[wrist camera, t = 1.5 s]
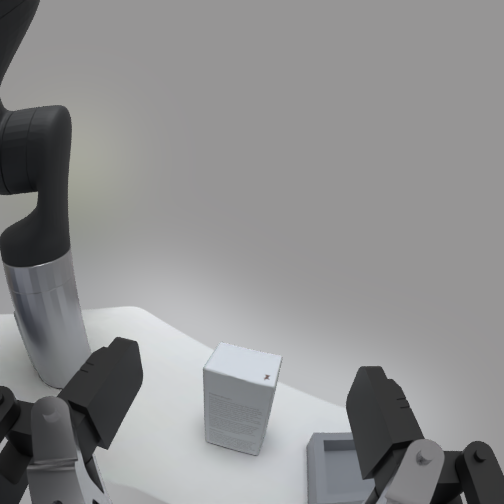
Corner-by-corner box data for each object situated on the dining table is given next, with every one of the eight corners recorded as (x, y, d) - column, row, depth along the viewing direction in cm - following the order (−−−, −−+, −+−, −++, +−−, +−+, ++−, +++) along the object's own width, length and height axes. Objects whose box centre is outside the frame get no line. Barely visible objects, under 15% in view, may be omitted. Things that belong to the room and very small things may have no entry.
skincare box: (266, 428, 27) (285, 355, 23) (257, 457, 23) (276, 388, 19) (216, 415, 29) (219, 339, 25) (203, 441, 25) (201, 368, 21)
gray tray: (308, 511, 17) (316, 503, 16) (306, 446, 25) (313, 432, 24) (398, 500, 16) (412, 490, 15) (385, 442, 24) (396, 429, 23)
